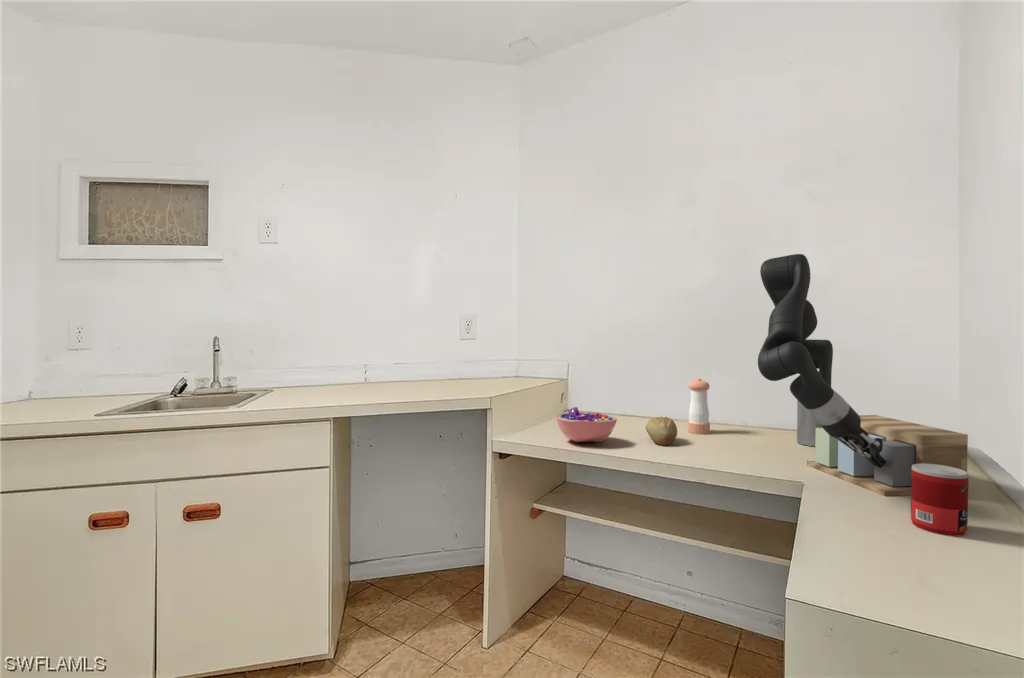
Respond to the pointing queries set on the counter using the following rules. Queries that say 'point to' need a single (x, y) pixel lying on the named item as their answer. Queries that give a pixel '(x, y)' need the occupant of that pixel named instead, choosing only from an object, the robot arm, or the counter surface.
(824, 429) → the robot arm
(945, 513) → the canned food
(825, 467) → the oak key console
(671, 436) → the bread roll
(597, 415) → the cell model
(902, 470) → the charcoal key
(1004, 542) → the counter surface
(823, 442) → the sage key
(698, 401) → the salt shaker
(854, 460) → the blue-grey key
